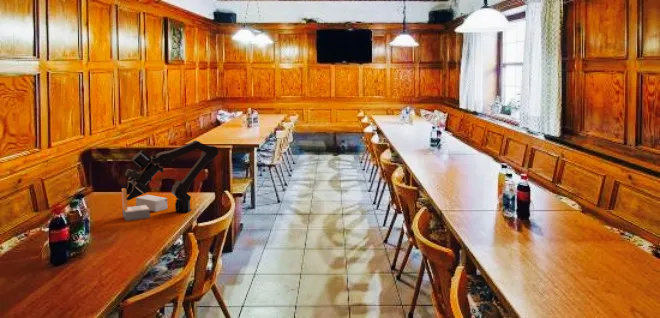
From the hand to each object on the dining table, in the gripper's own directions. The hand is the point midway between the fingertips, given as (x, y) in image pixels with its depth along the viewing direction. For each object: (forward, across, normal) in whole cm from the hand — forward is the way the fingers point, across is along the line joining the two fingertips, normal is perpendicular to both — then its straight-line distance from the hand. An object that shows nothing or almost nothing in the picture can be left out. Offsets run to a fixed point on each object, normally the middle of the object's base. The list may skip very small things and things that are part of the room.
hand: (125, 197), depth 240 cm
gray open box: (+4, 0, +11) cm, 11 cm away
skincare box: (-3, -20, +13) cm, 25 cm away
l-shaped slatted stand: (+1, 0, +8) cm, 8 cm away
